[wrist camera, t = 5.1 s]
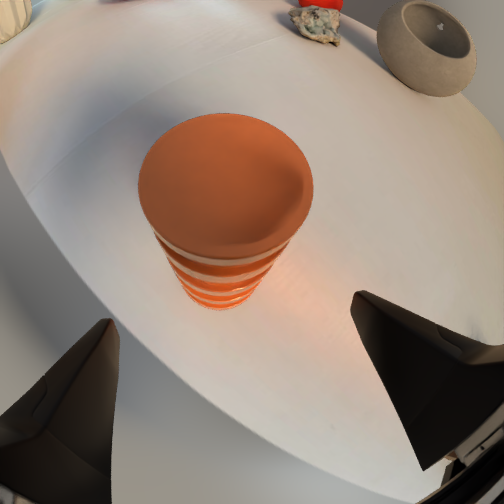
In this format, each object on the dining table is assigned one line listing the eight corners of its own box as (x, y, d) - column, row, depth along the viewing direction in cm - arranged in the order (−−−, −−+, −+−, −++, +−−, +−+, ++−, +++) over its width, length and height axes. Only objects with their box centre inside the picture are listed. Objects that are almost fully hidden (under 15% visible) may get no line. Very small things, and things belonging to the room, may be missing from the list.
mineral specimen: (304, 60, 41) (322, 36, 42) (339, 54, 35) (355, 30, 36) (274, 22, 34) (296, 2, 35) (310, 11, 28) (329, -8, 29)
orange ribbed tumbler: (212, 326, 20) (206, 301, 8) (164, 262, 21) (110, 162, 9) (274, 277, 22) (346, 193, 9) (226, 219, 23) (241, 95, 11)
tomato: (295, 12, 42) (302, -14, 34) (295, 1, 45) (301, -21, 38) (340, 24, 42) (350, 0, 35) (335, 12, 46) (343, -9, 39)
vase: (31, 28, 36) (16, -34, 10) (-16, 58, 31) (-36, 3, 5) (43, 13, 41) (32, -40, 15) (1, 38, 36) (-15, -11, 10)
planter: (355, 57, 36) (392, -21, 19) (369, 52, 39) (403, -17, 21) (439, 121, 34) (496, 52, 17) (445, 109, 36) (493, 48, 19)
